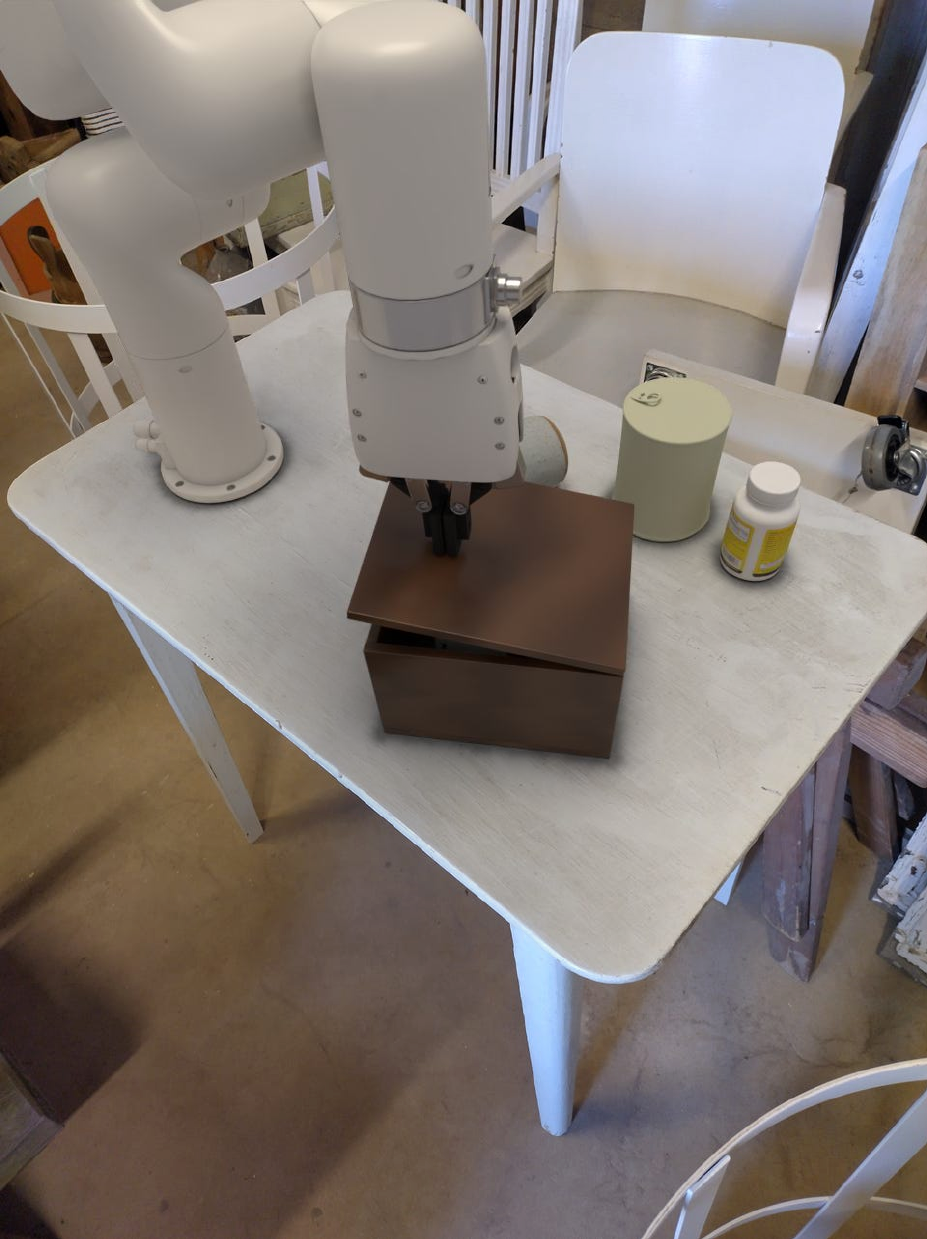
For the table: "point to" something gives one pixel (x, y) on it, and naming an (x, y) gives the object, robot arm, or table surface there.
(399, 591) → the lid
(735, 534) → the supplement bottle
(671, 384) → the can
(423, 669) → the chest
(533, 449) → the ceramic mug
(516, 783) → the table surface
